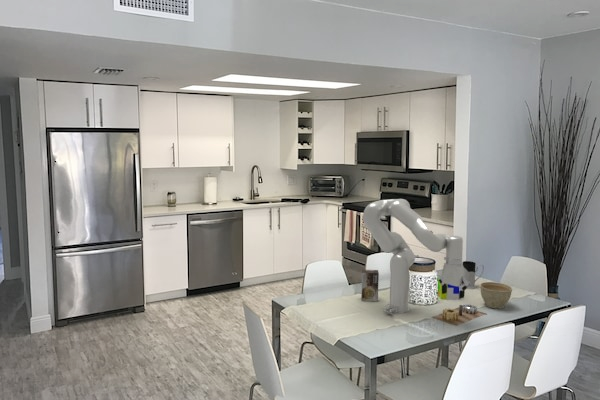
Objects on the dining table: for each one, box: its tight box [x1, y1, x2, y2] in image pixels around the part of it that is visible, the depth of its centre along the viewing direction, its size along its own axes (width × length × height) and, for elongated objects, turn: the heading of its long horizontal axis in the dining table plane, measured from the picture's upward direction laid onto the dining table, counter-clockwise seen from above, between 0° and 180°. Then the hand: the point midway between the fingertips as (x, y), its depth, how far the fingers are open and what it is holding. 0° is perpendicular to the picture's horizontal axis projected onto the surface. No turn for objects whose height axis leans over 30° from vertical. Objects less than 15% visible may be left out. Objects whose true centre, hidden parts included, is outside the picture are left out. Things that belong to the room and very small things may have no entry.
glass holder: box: [462, 260, 485, 290], centre depth 307 cm, size 9×14×15 cm, turn 100°
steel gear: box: [462, 303, 478, 314], centre depth 260 cm, size 7×7×3 cm
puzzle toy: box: [436, 276, 460, 300], centre depth 288 cm, size 10×10×10 cm
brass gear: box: [442, 307, 458, 322], centre depth 249 cm, size 7×7×4 cm
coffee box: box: [360, 269, 380, 302], centre depth 280 cm, size 9×6×16 cm
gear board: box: [431, 304, 487, 327], centre depth 255 cm, size 27×14×6 cm, turn 130°
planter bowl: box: [479, 281, 513, 309], centre depth 274 cm, size 16×16×11 cm
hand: (452, 295), depth 248 cm, fingers open, 9 cm apart
